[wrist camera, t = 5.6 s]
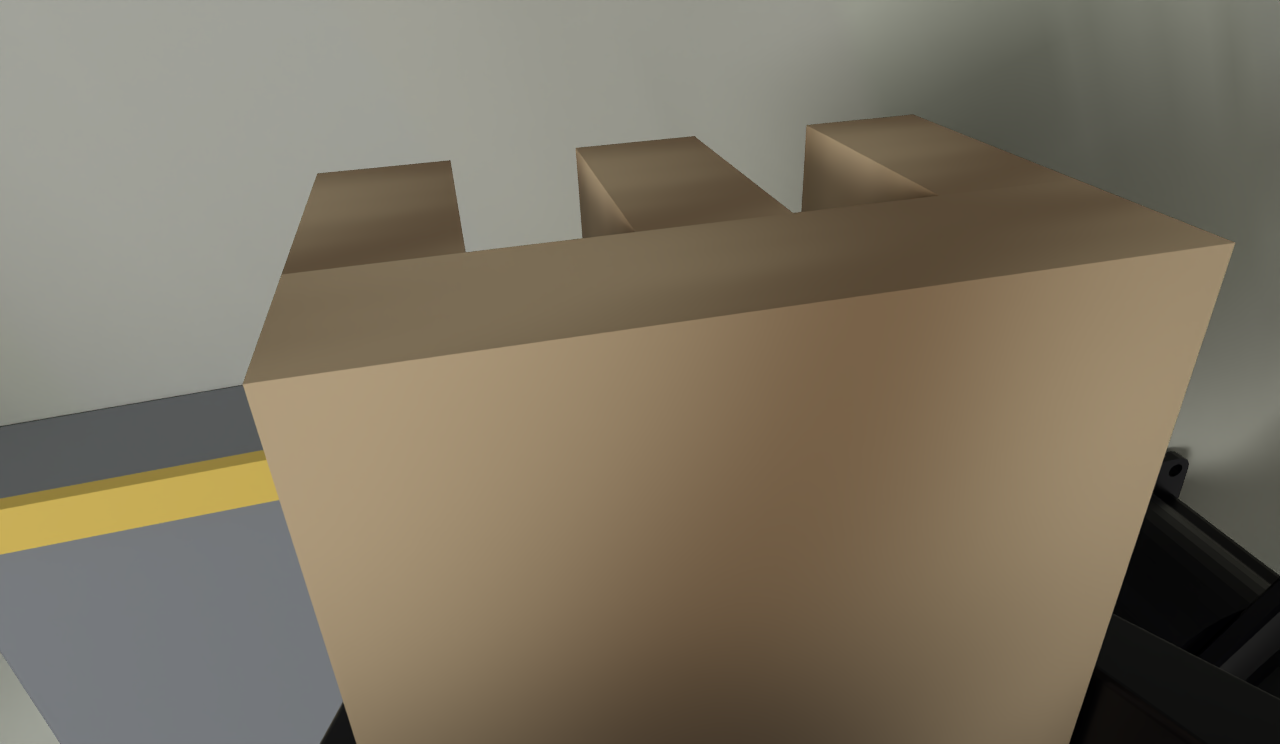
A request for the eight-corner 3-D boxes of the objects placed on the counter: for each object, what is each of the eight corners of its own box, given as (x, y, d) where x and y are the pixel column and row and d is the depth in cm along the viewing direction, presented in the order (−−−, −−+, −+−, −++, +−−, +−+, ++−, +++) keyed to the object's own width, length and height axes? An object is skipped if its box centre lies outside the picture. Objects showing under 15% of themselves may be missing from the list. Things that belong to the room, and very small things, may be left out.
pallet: (913, 114, 9) (1233, 242, 5) (837, 737, 14) (980, 1010, 10) (317, 173, 8) (242, 383, 4) (469, 829, 12) (492, 1171, 9)
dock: (681, 310, 21) (725, 373, 18) (697, 663, 28) (731, 751, 25) (-20, 430, 18) (-100, 528, 15) (183, 792, 25) (154, 909, 22)
